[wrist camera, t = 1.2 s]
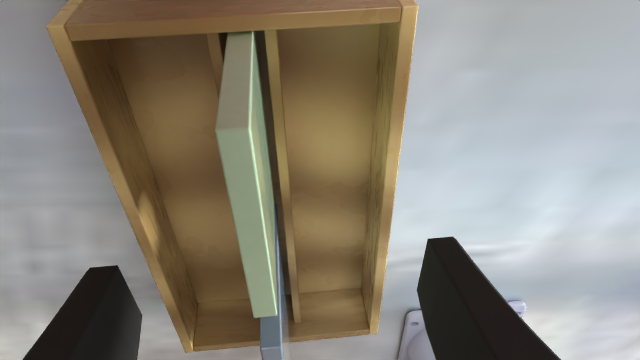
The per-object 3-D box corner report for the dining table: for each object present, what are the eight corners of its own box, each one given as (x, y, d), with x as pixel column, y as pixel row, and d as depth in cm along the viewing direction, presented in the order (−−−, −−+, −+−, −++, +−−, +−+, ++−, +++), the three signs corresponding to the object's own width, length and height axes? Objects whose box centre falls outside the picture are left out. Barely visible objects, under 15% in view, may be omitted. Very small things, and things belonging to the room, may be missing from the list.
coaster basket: (367, 286, 28) (377, 333, 26) (191, 302, 27) (185, 353, 25) (394, -30, 16) (419, 5, 13) (79, -14, 15) (45, 26, 13)
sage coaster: (273, 169, 21) (277, 316, 15) (255, 170, 21) (253, 319, 15) (254, 1, 16) (250, 128, 10) (230, 2, 16) (213, 130, 10)
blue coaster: (287, 293, 27) (293, 429, 21) (273, 294, 27) (276, 430, 21) (276, 201, 22) (282, 347, 16) (260, 202, 22) (259, 349, 16)
